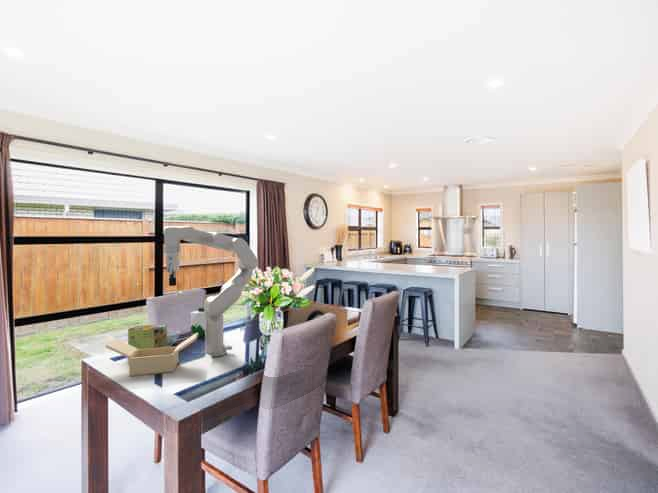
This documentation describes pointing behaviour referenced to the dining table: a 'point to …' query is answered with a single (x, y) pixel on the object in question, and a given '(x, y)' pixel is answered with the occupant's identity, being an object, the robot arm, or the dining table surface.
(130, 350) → the flap
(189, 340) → the flap
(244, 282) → the robot arm
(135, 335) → the protein box
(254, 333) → the dining table surface
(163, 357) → the carton
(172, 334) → the chinaware
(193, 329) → the milk carton
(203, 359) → the dining table surface
